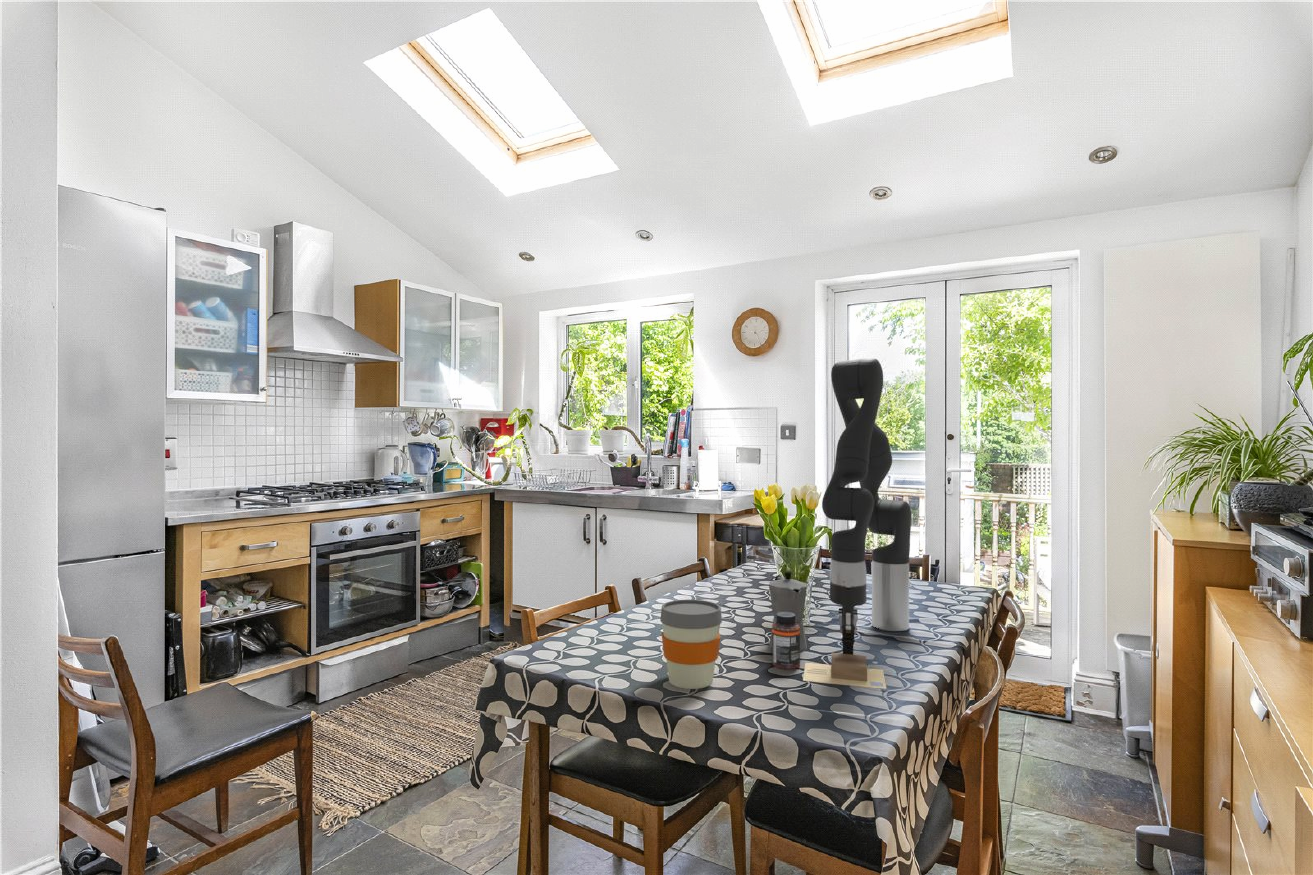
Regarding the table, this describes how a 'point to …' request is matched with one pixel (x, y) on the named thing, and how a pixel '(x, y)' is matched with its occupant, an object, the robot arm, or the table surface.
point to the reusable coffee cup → (691, 641)
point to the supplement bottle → (786, 641)
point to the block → (849, 667)
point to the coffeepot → (789, 601)
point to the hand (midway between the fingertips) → (848, 659)
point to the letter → (824, 676)
